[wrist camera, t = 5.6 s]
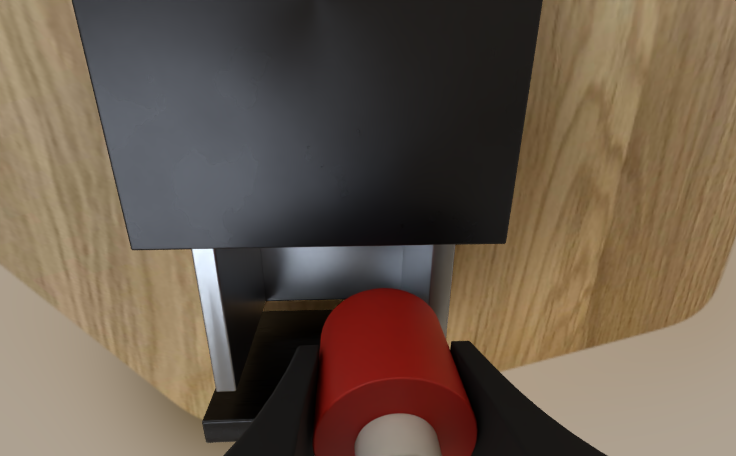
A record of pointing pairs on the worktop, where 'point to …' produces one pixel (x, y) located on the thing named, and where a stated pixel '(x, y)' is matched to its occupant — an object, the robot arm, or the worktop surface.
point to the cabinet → (311, 118)
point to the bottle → (389, 382)
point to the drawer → (292, 328)
